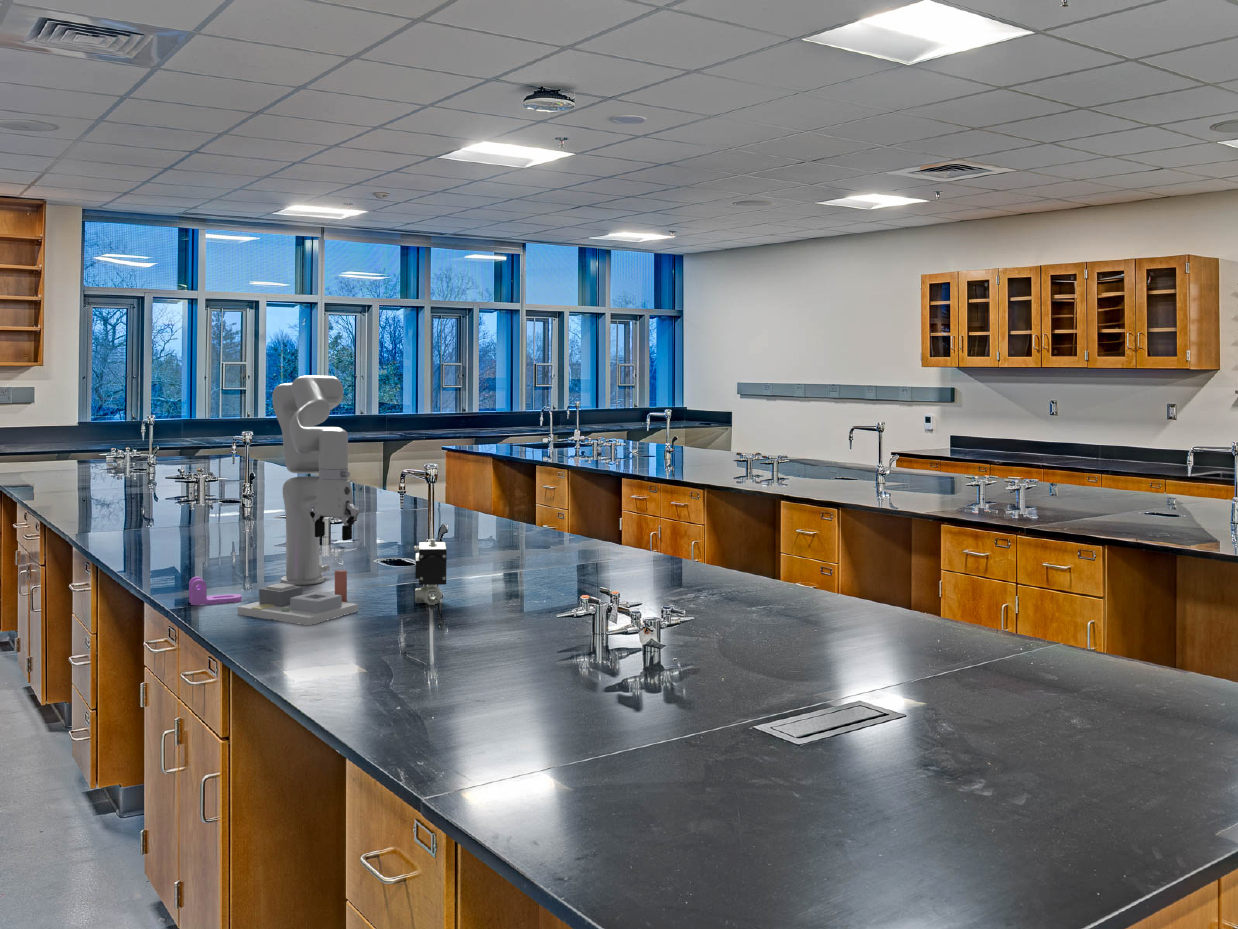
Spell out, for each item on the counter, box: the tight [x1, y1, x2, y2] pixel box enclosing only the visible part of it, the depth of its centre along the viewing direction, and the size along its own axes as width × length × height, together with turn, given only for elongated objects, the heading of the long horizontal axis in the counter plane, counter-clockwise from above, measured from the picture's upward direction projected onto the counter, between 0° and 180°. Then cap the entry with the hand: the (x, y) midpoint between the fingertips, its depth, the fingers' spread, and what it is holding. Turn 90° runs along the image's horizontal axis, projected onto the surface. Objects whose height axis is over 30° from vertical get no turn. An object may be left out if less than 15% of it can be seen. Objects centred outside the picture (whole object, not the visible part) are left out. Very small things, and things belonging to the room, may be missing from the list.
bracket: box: [188, 576, 243, 606], centre depth 275 cm, size 13×6×7 cm, turn 119°
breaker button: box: [266, 582, 296, 591], centre depth 266 cm, size 5×5×4 cm
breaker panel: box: [237, 585, 359, 626], centre depth 264 cm, size 18×24×6 cm
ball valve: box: [413, 538, 447, 606], centre depth 279 cm, size 18×8×18 cm, turn 11°
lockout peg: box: [334, 569, 348, 603], centre depth 276 cm, size 3×3×9 cm
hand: (333, 538), depth 273 cm, fingers open, 9 cm apart
